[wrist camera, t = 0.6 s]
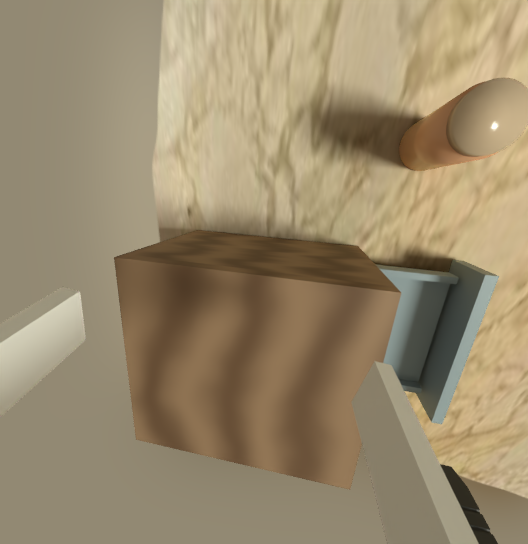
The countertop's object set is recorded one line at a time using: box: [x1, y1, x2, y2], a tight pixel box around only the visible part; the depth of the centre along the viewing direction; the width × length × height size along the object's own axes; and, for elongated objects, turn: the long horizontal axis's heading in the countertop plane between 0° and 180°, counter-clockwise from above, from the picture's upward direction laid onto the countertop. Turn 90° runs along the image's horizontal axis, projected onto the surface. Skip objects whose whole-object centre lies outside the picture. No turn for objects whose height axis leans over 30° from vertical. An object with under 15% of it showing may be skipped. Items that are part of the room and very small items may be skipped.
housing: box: [114, 230, 401, 489], centre depth 29 cm, size 22×20×16 cm
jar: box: [399, 78, 528, 171], centre depth 23 cm, size 5×5×11 cm
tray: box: [375, 260, 499, 424], centre depth 32 cm, size 22×19×6 cm
